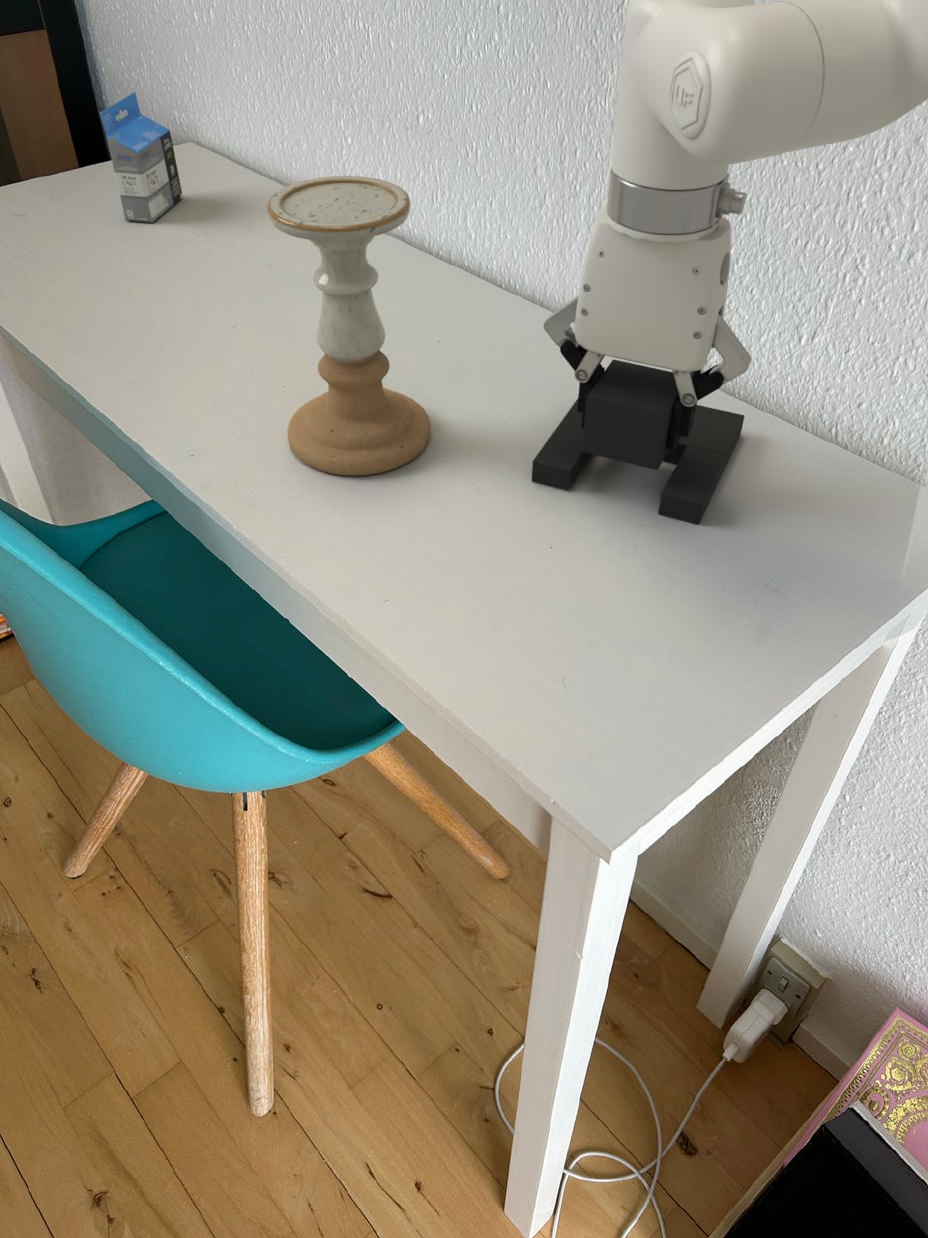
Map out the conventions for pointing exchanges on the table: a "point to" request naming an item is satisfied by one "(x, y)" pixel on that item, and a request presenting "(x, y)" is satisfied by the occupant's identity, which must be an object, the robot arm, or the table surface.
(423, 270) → the table surface
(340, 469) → the candle holder
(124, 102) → the ink cartridge box
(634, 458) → the black cube block
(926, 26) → the robot arm
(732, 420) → the base pad
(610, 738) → the table surface
